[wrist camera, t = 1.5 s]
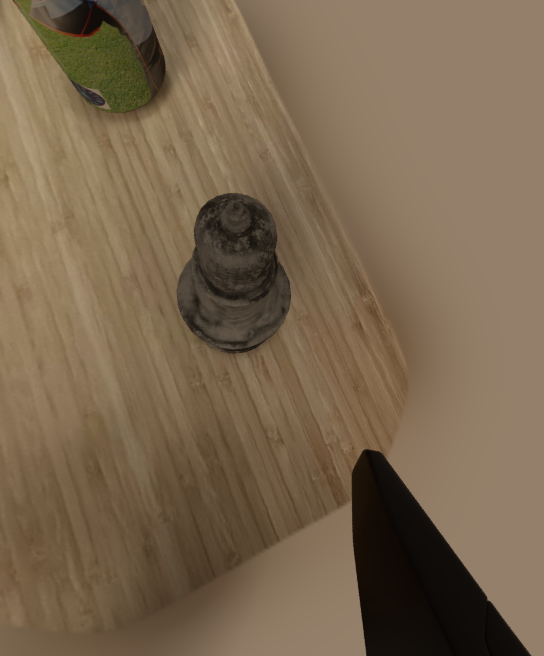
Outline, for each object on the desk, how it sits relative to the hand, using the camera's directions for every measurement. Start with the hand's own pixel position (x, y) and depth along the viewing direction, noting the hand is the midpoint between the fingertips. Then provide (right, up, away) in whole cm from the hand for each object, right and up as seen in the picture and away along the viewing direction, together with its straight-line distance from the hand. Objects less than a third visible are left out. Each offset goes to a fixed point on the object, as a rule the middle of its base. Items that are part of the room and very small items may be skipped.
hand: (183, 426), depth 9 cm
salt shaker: (0, +3, +14) cm, 14 cm away
